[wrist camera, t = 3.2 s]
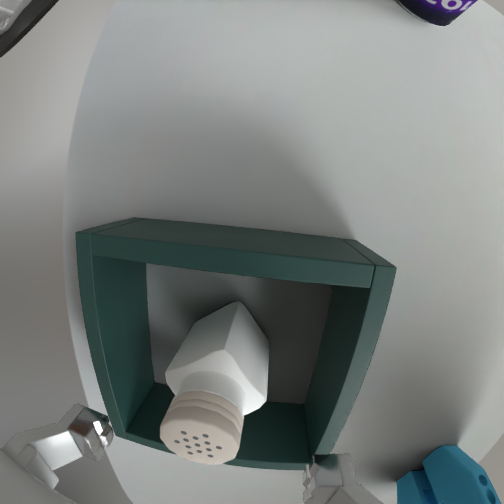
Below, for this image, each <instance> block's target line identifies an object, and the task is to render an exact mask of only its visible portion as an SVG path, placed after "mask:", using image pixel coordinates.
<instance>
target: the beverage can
mask: <svg viewBox="0 0 504 504" xmlns="http://www.w3.org/2000/svg"><path fill="white" fill-rule="evenodd" d="M476 1H477V0H398V2H399V3H400V4H401V6H402V7H403V8H404V9H405V10H406V11H408V12H409V13H410V14H412V15H413V16H415V17H416V18H418V19H420V20H422V21H425V22H428V23H432V24H435V25H439V26H446V25H449V24H450V23H451V22H452V21H453V20H455V19H456V18H457V17H458V16H459V15H460V14H462V13H463V12H464V11H465V10H466V9H468V8H469V7H470V6H471V5H472V4H474V3H475V2H476Z"/></svg>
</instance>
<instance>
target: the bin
mask: <svg viewBox="0 0 504 504" xmlns="http://www.w3.org/2000/svg"><path fill="white" fill-rule="evenodd" d="M76 252H77V266H78V278H79V287H80V296H81V303H82V310H83V316H84V322H85V328H86V333H87V338H88V343H89V348H90V353H91V357H92V361H93V365H94V369H95V373H96V377H97V381H98V384H99V388H100V391H101V394H102V398H103V401H104V404H105V407H106V410H107V413H108V416H109V419H110V422H111V424H112V427H113V430H114V432H115V435H116V436H118V437H121V438H124V439H127V440H130V441H133V442H136V443H139V444H142V445H145V446H148V447H151V448H155V449H158V450H162V451H165V452H169V453H173V454H176V453H174V452H172V451H171V450H169V449H168V448H167V446H166V445H165V444H164V442H163V441H162V440H161V439H160V425H161V423H162V421H163V419H164V417H165V415H166V412H167V410H168V408H169V406H170V404H171V402H172V400H173V398H174V397H175V394H174V393H173V392H172V390H171V389H170V387H169V386H167V385H163V384H159V383H155V382H154V374H153V366H152V357H151V347H150V336H149V324H148V308H147V285H146V263H150V264H157V265H164V266H172V267H179V268H187V269H195V270H203V271H211V272H219V273H227V274H235V275H244V276H253V277H261V278H270V279H280V280H289V281H299V282H308V283H319V284H329V285H333V291H332V296H331V301H330V306H329V310H328V315H327V320H326V324H325V329H324V333H323V337H322V341H321V346H320V350H319V354H318V358H317V362H316V365H315V369H314V373H313V377H312V380H311V384H310V387H309V391H308V394H307V398H306V401H305V404H287V403H273V402H265V403H264V404H263V405H262V406H261V407H260V408H259V409H257V410H255V411H253V412H251V413H249V414H247V415H244V421H243V427H242V434H241V440H240V446H239V450H238V452H237V454H236V457H235V458H234V459H232V460H230V461H227V462H225V463H223V464H227V465H234V466H242V467H251V468H262V469H277V470H304V468H305V466H306V465H307V464H308V463H309V457H310V456H311V455H316V454H330V453H331V451H332V449H333V447H334V445H335V443H336V441H337V439H338V437H339V435H340V433H341V431H342V429H343V427H344V425H345V422H346V420H347V418H348V416H349V414H350V411H351V409H352V407H353V405H354V402H355V400H356V398H357V395H358V393H359V390H360V388H361V385H362V383H363V380H364V378H365V375H366V372H367V370H368V367H369V364H370V361H371V358H372V355H373V353H374V350H375V347H376V343H377V340H378V337H379V334H380V331H381V327H382V324H383V321H384V317H385V314H386V310H387V306H388V302H389V299H390V295H391V291H392V286H393V282H394V278H395V273H396V269H397V268H396V267H395V266H394V265H392V264H391V263H390V262H388V261H387V260H385V259H384V258H382V257H381V256H379V255H378V254H376V253H375V252H373V251H372V250H370V249H369V248H367V247H366V246H364V245H363V244H361V243H359V242H358V241H356V240H350V239H340V238H333V237H325V236H317V235H308V234H300V233H291V232H282V231H273V230H264V229H254V228H245V227H235V226H225V225H214V224H204V223H193V222H181V221H170V220H158V219H146V218H130V219H126V220H121V221H117V222H113V223H109V224H105V225H101V226H97V227H93V228H89V229H86V230H82V231H78V232H76Z"/></svg>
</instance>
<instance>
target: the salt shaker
mask: <svg viewBox="0 0 504 504" xmlns="http://www.w3.org/2000/svg"><path fill="white" fill-rule="evenodd" d="M268 365H269V341H268V339H267V338H266V336H265V335H264V333H263V332H262V330H261V329H260V328H259V326H258V325H257V323H256V322H255V320H254V319H253V317H252V316H251V314H250V313H249V311H248V310H247V308H246V307H245V306H244V305H243V304H242V303H241V302H234V303H231V304H229V305H227V306H225V307H223V308H221V309H219V310H217V311H215V312H213V313H212V314H210V315H208V316H206V317H204V318H202V319H200V320H198V321H196V322H195V323H194V325H193V326H192V328H191V329H190V331H189V333H188V334H187V336H186V338H185V339H184V341H183V343H182V344H181V346H180V348H179V350H178V351H177V353H176V355H175V356H174V358H173V360H172V362H171V363H170V365H169V367H168V368H167V370H166V372H165V377H166V382H167V384H168V386H169V387H170V389H171V390H172V392H173V393H174V394H175V397H174V398H173V400H172V402H171V404H170V406H169V408H168V410H167V412H166V415H165V417H164V419H163V421H162V423H161V425H160V439H161V440H162V441H163V442H164V444H165V445H166V446H167V448H168V449H169V450H171V451H172V452H174V453H176V454H177V455H179V456H181V457H182V458H184V459H187V460H190V461H194V462H197V463H201V464H223V463H225V462H227V461H230V460H232V459H234V458H235V457H236V454H237V452H238V450H239V446H240V440H241V434H242V427H243V421H244V415H247V414H249V413H251V412H253V411H255V410H257V409H259V408H260V407H261V406H262V405H263V404H264V403H265V402H266V400H267V383H268Z"/></svg>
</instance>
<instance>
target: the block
mask: <svg viewBox="0 0 504 504" xmlns="http://www.w3.org/2000/svg"><path fill="white" fill-rule="evenodd" d="M422 463H423V466H424V468H425V470H422V471H410V472H408V473H407V474H406V475H404V476H403V477H402V478H400V479H399V480H398V481H397V504H501V502H500V500H499V498H498V496H497V494H496V492H495V489H494V487H493V485H492V483H491V481H490V480H489V478H488V476H487V474H486V472H485V470H484V469H483V468H482V467H481V466H480V465H478V464H477V463H476V462H475V461H474V460H473V459H471V458H470V457H469V456H468V455H467V454H466V453H464V452H463V451H462V450H461V449H460V448H459V447H457V446H456V445H444V446H440V447H439V448H437V449H436V450H434V451H433V452H432V453H431V454H430V455H429V456H428V457H426V458H425V459H424V460H423V461H422Z"/></svg>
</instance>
